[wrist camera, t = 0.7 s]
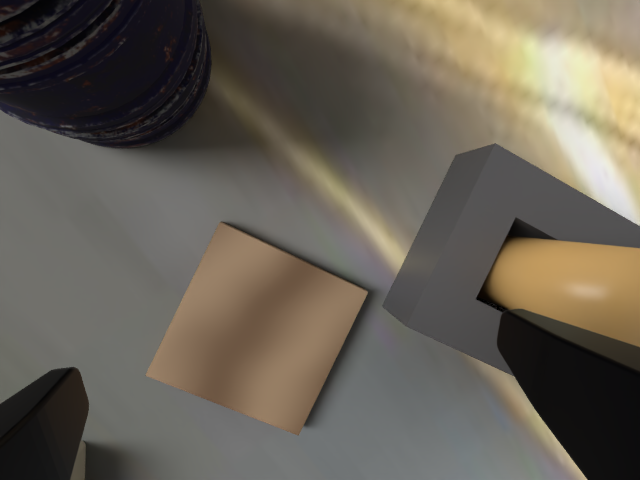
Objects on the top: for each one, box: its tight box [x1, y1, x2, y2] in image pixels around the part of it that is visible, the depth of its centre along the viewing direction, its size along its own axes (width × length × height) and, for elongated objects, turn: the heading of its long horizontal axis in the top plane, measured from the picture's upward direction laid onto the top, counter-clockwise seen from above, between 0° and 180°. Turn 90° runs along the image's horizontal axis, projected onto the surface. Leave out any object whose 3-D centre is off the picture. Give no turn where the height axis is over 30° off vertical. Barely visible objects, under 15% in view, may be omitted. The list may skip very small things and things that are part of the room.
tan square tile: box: [145, 222, 368, 435], centre depth 21 cm, size 9×9×1 cm
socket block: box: [382, 143, 640, 376], centre depth 22 cm, size 10×10×4 cm
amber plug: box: [477, 235, 640, 347], centre depth 19 cm, size 4×4×10 cm
